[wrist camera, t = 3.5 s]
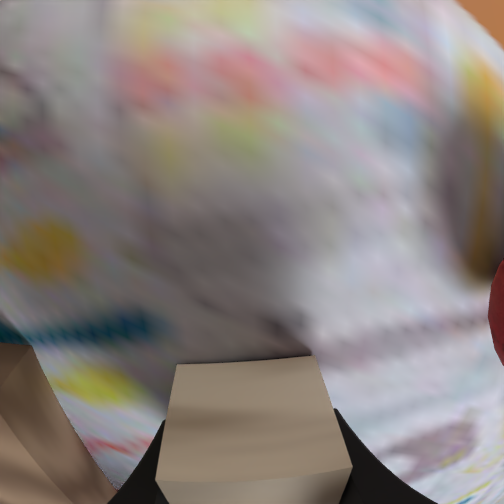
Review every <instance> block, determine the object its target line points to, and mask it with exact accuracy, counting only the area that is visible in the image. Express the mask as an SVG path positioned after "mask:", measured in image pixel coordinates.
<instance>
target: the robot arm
mask: <svg viewBox="0 0 504 504" xmlns="http://www.w3.org/2000/svg"><path fill="white" fill-rule="evenodd" d="M334 412H335V415H336V418H337V421H338V424H339V427H340V430H341V433H342V436H343V439H344V442H345V445H346V448H347V451H348V454H349V457H350V460H351V463H352V466H353V467H352V470H351V473H350V476H349V478H348V481H347V484H346V486H345V489H344V491H343V494H342V496H341V499H340V501H339V504H438V503H436V502H434V501H432V500H430V499H429V498H427V497H425V496H424V495H422V494H421V493H419V492H417V491H416V490H414V489H413V488H411V487H410V486H409V485H407V484H406V483H404V482H403V481H402V480H401V479H399V478H398V477H397V476H396V475H394V474H393V473H392V472H391V471H390V470H389V469H387V468H386V467H385V466H384V465H383V464H382V463H381V462H380V461H379V460H378V459H377V458H376V457H375V456H374V455H373V454H372V453H371V452H370V451H369V449H368V448H367V447H366V446H365V445H364V444H363V443H362V442H361V440H360V439H359V438H358V437H357V436H356V434H355V433H354V432H353V431H352V429H351V428H350V427H349V425H348V424H347V423H346V421H345V420H344V418H343V417H342V416H341V414H340V413H339V411H338V410H337V409H336V408H334ZM165 422H166V420H164V421H162V424H161V426H160V428H159V430H158V432H157V433H156V435H155V437H154V439H153V441H152V443H151V444H150V446H149V448H148V450H147V451H146V453H145V454H144V456H143V458H142V459H141V461H140V462H139V464H138V465H137V467H136V468H135V470H134V471H133V472H132V474H131V475H130V477H129V478H128V479H127V481H126V482H125V483H124V485H123V486H122V487H121V488H120V489H119V491H118V492H117V493H116V494H115V495H114V496H113V497H112V499H111V500H110V501H109V502H108V503H107V504H169V502H168V501H167V499H166V497H165V496H164V494H163V492H162V491H161V489H160V487H159V486H158V484H157V482H156V480H155V478H156V472H157V466H158V460H159V455H160V449H161V443H162V438H163V432H164V427H165Z"/></svg>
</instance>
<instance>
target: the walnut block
mask: <svg viewBox="0 0 504 504" xmlns="http://www.w3.org/2000/svg"><path fill="white" fill-rule="evenodd" d="M116 493H117V491H116V489H115V488H114V487H113V486H112V484H111V483H110V482H109V480H108V479H107V478H106V476H105V475H104V473H103V472H102V471H101V469H100V468H99V466H98V465H97V464H96V462H95V461H94V459H93V458H92V456H91V455H90V453H89V452H88V450H87V449H86V447H85V446H84V444H83V443H82V441H81V439H80V438H79V436H78V435H77V433H76V431H75V430H74V428H73V426H72V425H71V423H70V421H69V420H68V418H67V416H66V414H65V413H64V411H63V409H62V407H61V405H60V404H59V402H58V400H57V398H56V396H55V394H54V392H53V390H52V388H51V386H50V384H49V382H48V380H47V378H46V376H45V374H44V372H43V370H42V368H41V366H40V364H39V361H38V359H37V357H36V355H35V352H34V350H33V348H32V346H30V345H20V344H10V343H1V342H0V504H107V503H108V502H109V501H110V500H111V499H112V497H113V496H114V495H115V494H116Z"/></svg>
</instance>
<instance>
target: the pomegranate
mask: <svg viewBox="0 0 504 504" xmlns="http://www.w3.org/2000/svg"><path fill="white" fill-rule="evenodd" d="M488 319H489V324H490V329H491V334H492V339H493V343H494V348H495V351H496V353H497V354H498V356H499V358H500V360H501V362H502V364H503V366H504V259H503V260H502V262H501V263H500V265H499V267H498V269H497V272H496V275H495V277H494V280H493V282H492V284H491V292H490V300H489V310H488Z"/></svg>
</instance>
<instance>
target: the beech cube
mask: <svg viewBox="0 0 504 504" xmlns="http://www.w3.org/2000/svg"><path fill="white" fill-rule="evenodd" d="M352 467H353V466H352V463H351V460H350V457H349V454H348V451H347V448H346V445H345V442H344V439H343V436H342V433H341V430H340V427H339V424H338V421H337V418H336V415H335V412H334V409H333V406H332V404H331V401H330V398H329V395H328V392H327V389H326V386H325V383H324V380H323V378H322V375H321V372H320V369H319V366H318V363H317V360H316V358H315V355H314V356H305V357H295V358H285V359H274V360H262V361H248V362H232V363H210V364H177V366H176V371H175V376H174V381H173V386H172V391H171V396H170V401H169V406H168V411H167V416H166V422H165V427H164V432H163V438H162V443H161V449H160V455H159V460H158V466H157V472H156V478H155V480H156V482H157V484H158V486H159V487H160V489H161V491H162V492H163V494H164V496H165V497H166V499H167V501H168V502H169V504H339V501H340V499H341V496H342V494H343V491H344V489H345V486H346V484H347V481H348V478H349V476H350V473H351V470H352Z"/></svg>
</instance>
